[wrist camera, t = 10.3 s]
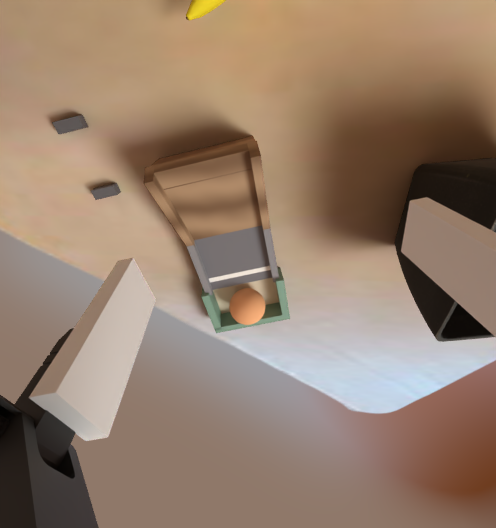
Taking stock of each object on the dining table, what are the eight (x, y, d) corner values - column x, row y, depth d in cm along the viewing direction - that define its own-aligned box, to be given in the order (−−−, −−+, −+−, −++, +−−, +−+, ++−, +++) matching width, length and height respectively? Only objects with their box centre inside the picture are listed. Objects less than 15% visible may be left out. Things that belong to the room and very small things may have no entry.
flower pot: (368, 265, 43) (436, 346, 29) (394, 143, 33) (520, 177, 18) (478, 253, 43) (599, 328, 29) (540, 128, 33) (775, 151, 19)
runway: (187, 234, 38) (185, 243, 35) (267, 216, 37) (269, 224, 35) (207, 285, 43) (206, 296, 41) (276, 271, 42) (279, 281, 40)
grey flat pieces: (58, 121, 29) (52, 122, 28) (82, 115, 29) (77, 115, 28) (99, 196, 34) (95, 199, 33) (120, 191, 34) (117, 194, 33)
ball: (223, 297, 39) (232, 333, 40) (261, 289, 38) (269, 326, 39) (227, 288, 45) (235, 320, 46) (260, 281, 44) (268, 313, 45)
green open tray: (203, 283, 43) (201, 297, 40) (279, 267, 42) (283, 280, 39) (217, 318, 48) (216, 333, 45) (286, 304, 47) (290, 318, 44)
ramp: (158, 156, 32) (139, 172, 25) (252, 133, 31) (258, 143, 24) (190, 240, 38) (181, 270, 31) (268, 223, 37) (276, 250, 31)
